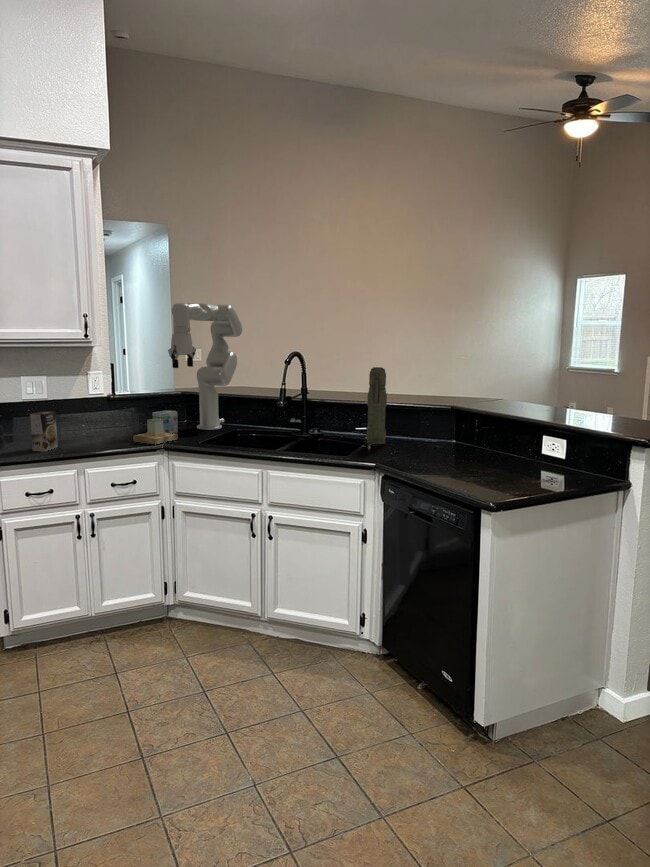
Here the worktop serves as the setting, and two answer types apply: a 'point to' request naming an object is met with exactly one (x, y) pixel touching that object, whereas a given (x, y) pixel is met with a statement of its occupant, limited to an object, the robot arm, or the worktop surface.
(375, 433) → the thermos
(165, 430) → the light bulb box
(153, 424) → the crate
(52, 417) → the coffee box
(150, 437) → the dock
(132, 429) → the worktop surface
